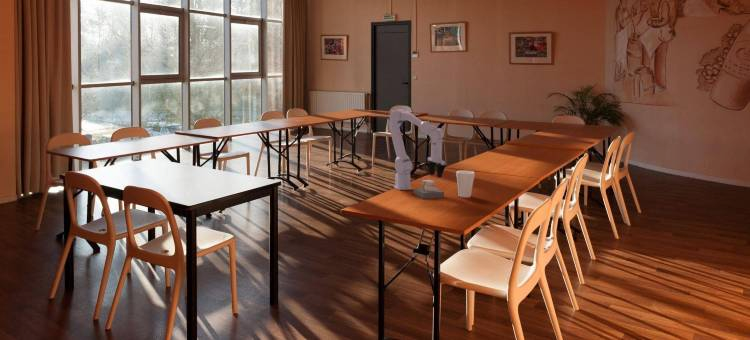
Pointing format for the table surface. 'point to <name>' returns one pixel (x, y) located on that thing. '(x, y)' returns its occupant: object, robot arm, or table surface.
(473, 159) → the table surface
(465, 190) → the foam cup
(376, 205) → the table surface
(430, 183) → the cream cube
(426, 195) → the charcoal plinth
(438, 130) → the robot arm
